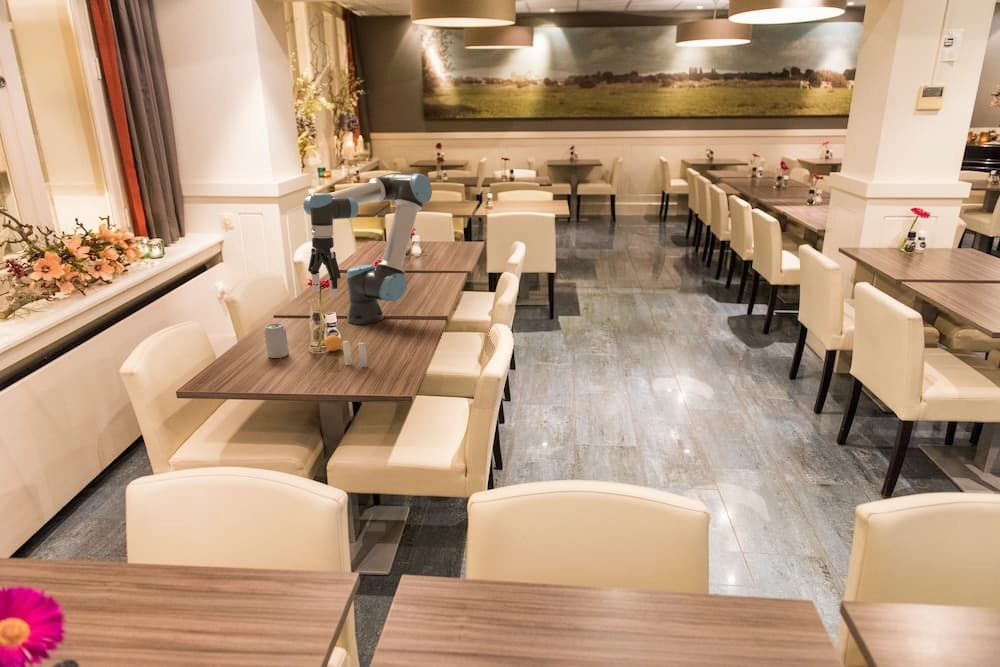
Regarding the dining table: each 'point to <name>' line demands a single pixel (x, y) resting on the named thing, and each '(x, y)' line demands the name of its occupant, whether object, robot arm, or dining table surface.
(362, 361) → the pin
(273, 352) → the can
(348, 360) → the pin
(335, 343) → the ball
